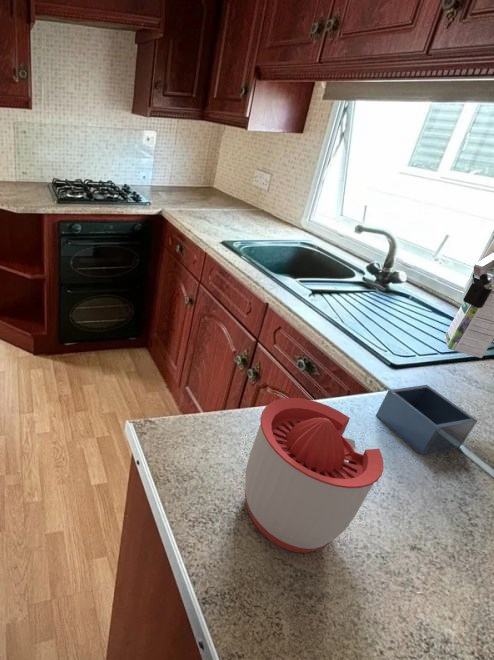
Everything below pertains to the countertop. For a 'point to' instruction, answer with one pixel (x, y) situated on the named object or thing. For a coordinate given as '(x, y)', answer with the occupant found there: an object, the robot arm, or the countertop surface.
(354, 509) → the citrus juicer
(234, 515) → the countertop surface
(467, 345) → the syrup box
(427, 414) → the box
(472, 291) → the robot arm
